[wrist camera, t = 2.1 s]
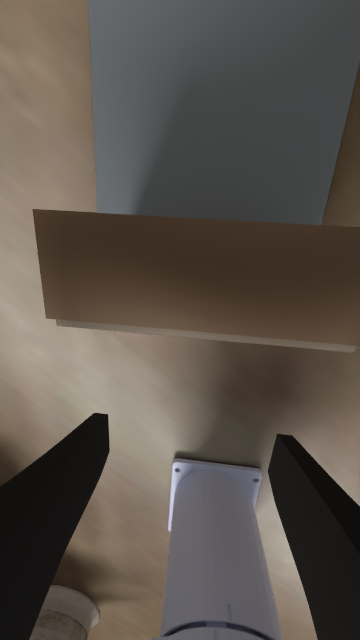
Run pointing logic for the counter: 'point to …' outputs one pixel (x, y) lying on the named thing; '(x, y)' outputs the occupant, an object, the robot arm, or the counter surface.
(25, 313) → the counter surface
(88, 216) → the brown wooden block
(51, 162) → the counter surface
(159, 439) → the counter surface
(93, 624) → the mug
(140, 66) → the mat
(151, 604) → the counter surface
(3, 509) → the robot arm
